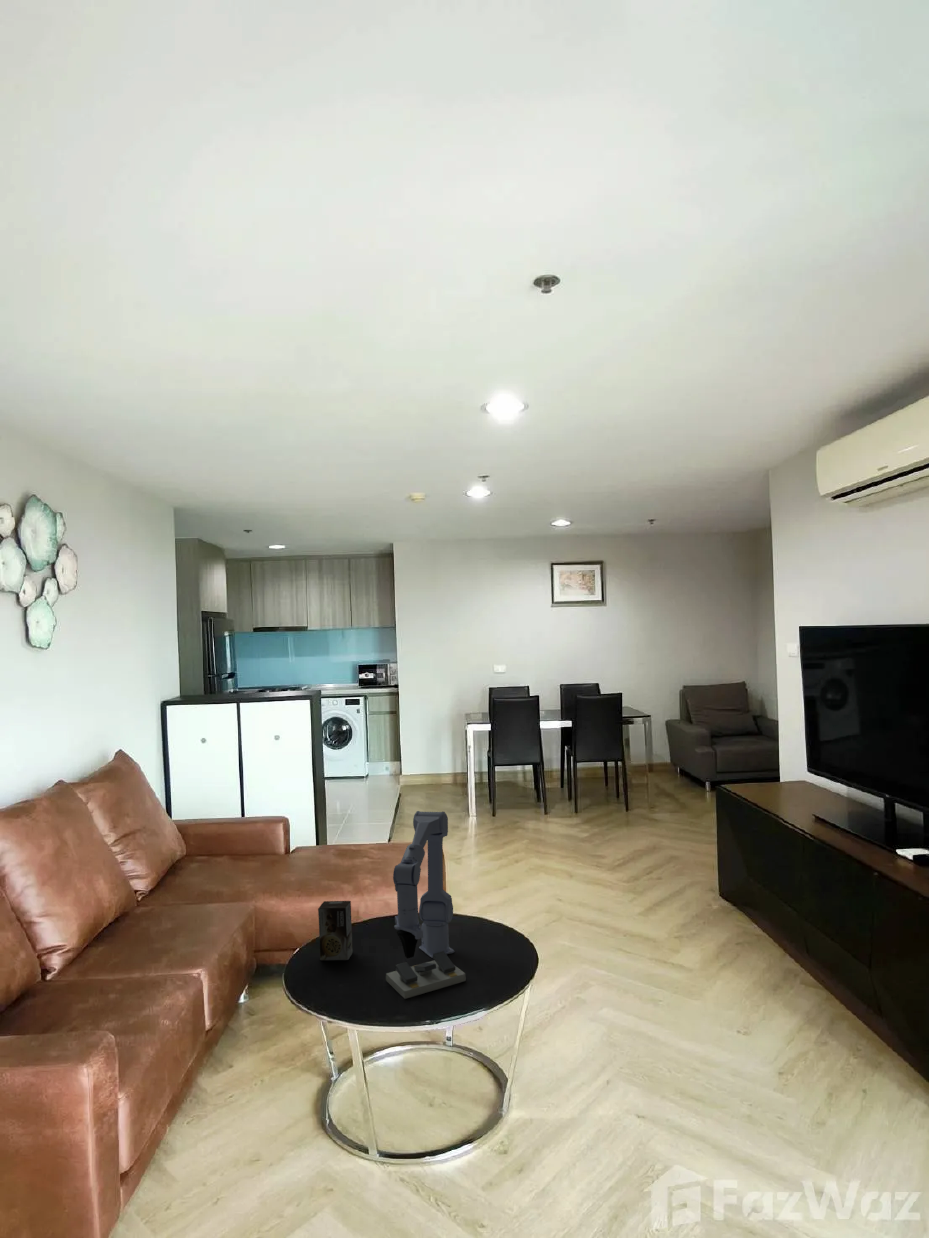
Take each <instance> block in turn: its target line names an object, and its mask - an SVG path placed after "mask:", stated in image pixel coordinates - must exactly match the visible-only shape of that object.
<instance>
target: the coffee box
mask: <svg viewBox="0 0 929 1238" xmlns="http://www.w3.org/2000/svg"><path fill="white" fill-rule="evenodd" d="M351 903H352V902H351V900H327V901H323V902H322V903H321V904H320V906H319V907H318V908H317V911H318V912H317V916H318V930H319V931H318V935H319V938H318V939H319V961H348V960H349V959H350V957H352V955H353V953H354V952H353V951H354V950H353V930H352V928H353V927H352V904H351Z"/></svg>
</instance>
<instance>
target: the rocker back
mask: <svg viewBox="0 0 929 1238" xmlns="http://www.w3.org/2000/svg"><path fill="white" fill-rule="evenodd" d="M432 959H433V961H434V960H435V962H436V963H437V964H438V966H439V967H440V968H441V970H442V971H443V972H444V974H445V973H448V972H452V971H455V966H456V965H455V964H454V963H453V962H452V960H451V959H450V958H449V956H448V954H445V952H444V951H442V952H439V953H435V954H433V958H432ZM454 965H455V966H454Z"/></svg>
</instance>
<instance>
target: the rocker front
mask: <svg viewBox="0 0 929 1238" xmlns="http://www.w3.org/2000/svg"><path fill="white" fill-rule="evenodd" d="M394 967H395V968H394V969H395V971H397V972H398V973H399V975H400V976H401V978H402V979H403V980H404V982H405V983H406V984H407V983H411V982H414V981H417V979H418V976H417V975H416V974H415V972H414V971H413V970H412V968H411V967H412V966H410V965H409V964H408V962H407V961H405V962H400V963H396V964H395V965H394Z"/></svg>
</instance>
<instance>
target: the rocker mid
mask: <svg viewBox="0 0 929 1238" xmlns="http://www.w3.org/2000/svg"><path fill="white" fill-rule="evenodd" d="M413 966H414V969H415V970H416V971H429V970H432V969H436V964H432V963H426V962H423V963H419V965H418V964H416V965H415V964H414V965H413Z"/></svg>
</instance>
